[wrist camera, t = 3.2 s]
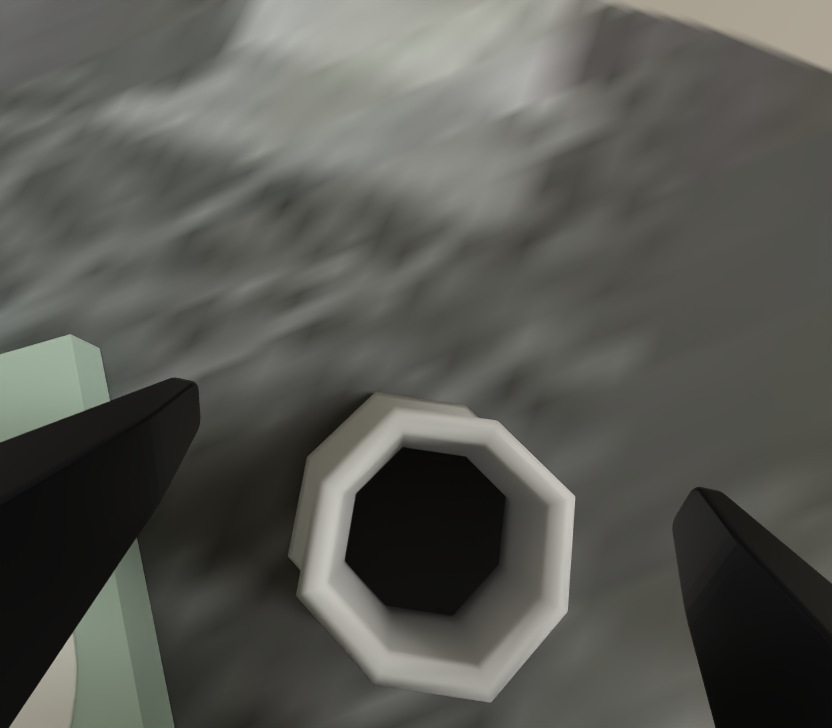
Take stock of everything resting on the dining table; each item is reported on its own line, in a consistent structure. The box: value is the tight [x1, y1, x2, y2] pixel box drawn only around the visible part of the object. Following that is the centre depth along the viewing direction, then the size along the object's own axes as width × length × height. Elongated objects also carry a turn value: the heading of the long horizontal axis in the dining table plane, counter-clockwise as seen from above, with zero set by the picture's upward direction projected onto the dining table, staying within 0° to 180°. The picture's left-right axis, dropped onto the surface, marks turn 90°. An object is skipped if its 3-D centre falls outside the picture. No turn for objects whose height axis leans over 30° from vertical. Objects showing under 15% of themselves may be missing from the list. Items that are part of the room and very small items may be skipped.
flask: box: [288, 392, 575, 702], centre depth 11 cm, size 7×7×10 cm
